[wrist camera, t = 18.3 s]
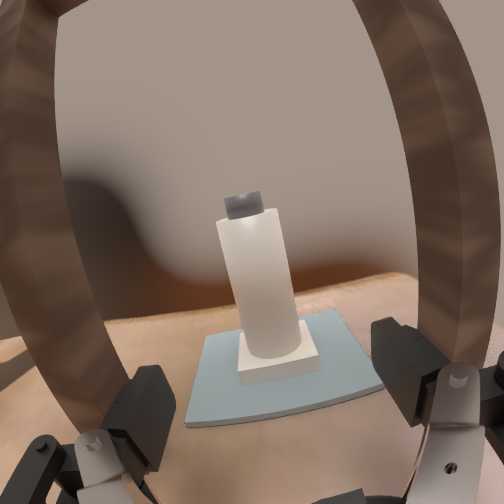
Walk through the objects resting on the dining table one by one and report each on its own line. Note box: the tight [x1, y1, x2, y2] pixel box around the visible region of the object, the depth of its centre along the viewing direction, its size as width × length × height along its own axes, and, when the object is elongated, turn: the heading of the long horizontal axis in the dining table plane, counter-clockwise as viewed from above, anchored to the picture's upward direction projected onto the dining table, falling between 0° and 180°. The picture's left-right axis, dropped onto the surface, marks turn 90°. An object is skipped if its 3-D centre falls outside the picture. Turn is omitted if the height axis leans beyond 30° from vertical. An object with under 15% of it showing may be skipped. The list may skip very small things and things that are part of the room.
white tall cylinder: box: [216, 191, 320, 386], centre depth 21 cm, size 6×6×14 cm
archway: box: [0, 0, 501, 474], centre depth 10 cm, size 24×4×33 cm, turn 91°
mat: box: [184, 308, 385, 428], centre depth 23 cm, size 14×13×1 cm
